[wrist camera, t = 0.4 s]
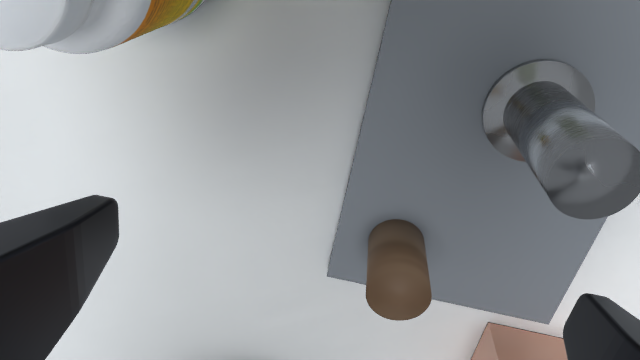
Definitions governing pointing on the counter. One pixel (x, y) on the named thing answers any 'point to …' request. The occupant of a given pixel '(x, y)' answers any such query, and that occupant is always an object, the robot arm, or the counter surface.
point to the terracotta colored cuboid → (518, 345)
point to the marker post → (562, 138)
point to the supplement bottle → (84, 22)
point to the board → (480, 146)
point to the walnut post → (397, 271)
